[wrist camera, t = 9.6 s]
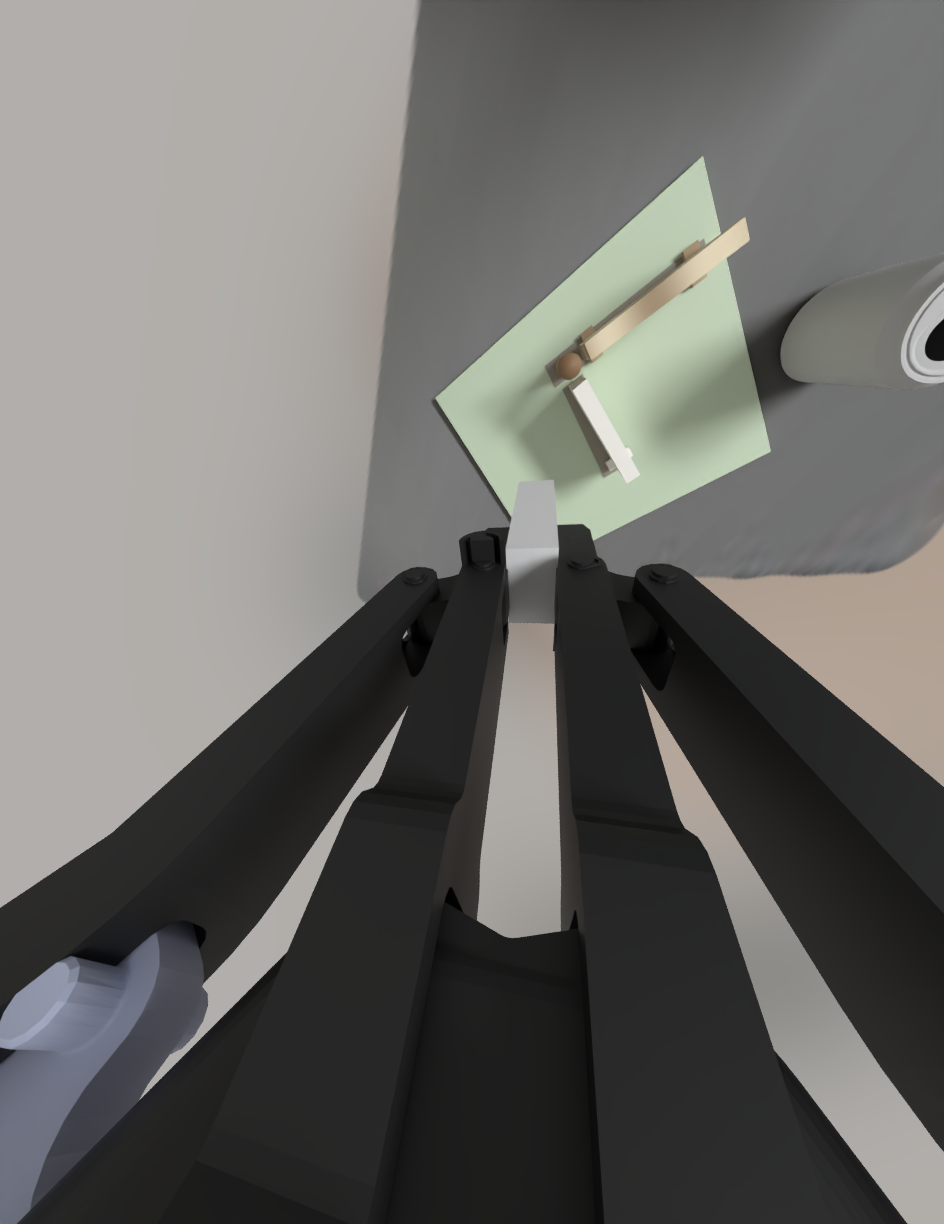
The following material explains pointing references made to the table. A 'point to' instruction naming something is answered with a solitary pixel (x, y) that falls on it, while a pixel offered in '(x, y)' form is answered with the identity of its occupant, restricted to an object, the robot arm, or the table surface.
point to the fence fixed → (656, 297)
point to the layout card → (620, 378)
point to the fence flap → (604, 430)
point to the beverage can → (872, 329)
